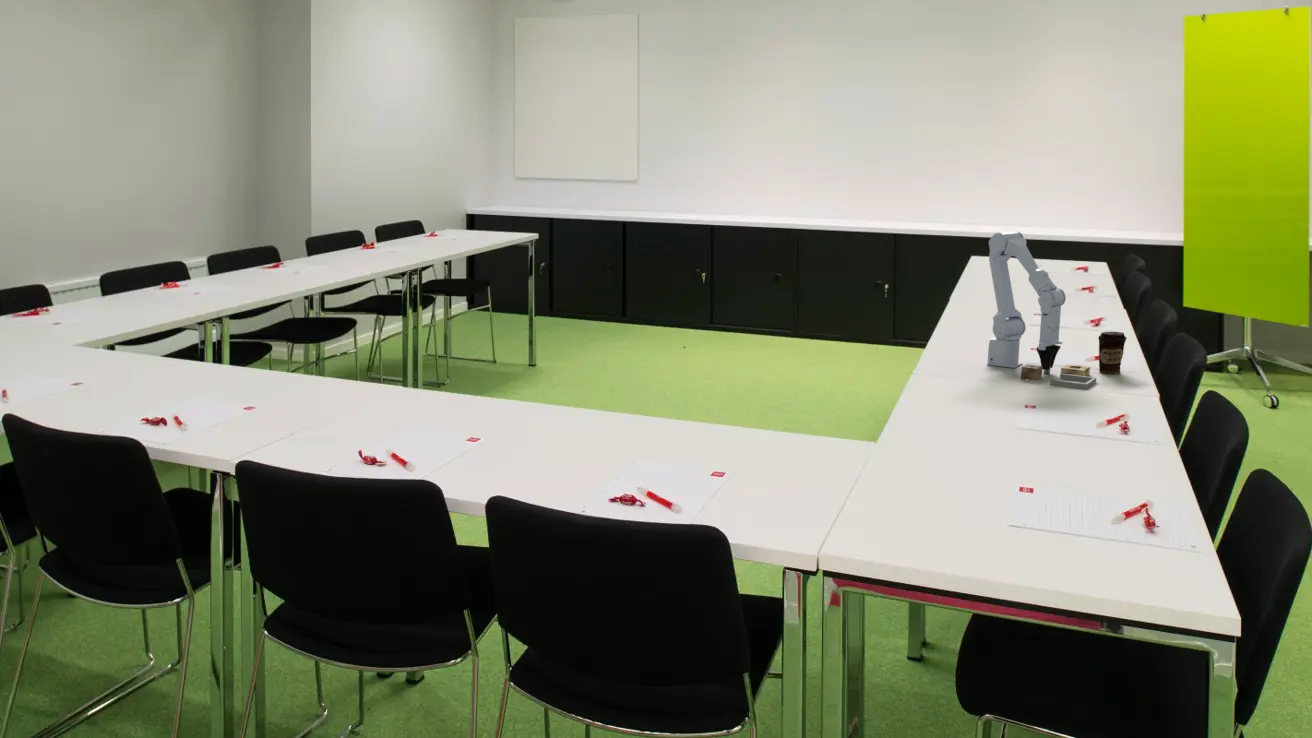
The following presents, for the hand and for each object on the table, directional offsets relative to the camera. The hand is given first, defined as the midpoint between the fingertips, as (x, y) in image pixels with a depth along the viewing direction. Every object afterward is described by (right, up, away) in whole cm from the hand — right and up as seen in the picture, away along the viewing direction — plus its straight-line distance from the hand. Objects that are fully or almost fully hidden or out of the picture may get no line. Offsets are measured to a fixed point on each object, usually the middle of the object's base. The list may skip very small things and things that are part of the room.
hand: (1047, 368), depth 350 cm
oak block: (+8, -2, -2) cm, 9 cm away
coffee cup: (+21, -1, +1) cm, 21 cm away
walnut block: (-7, -3, -5) cm, 9 cm away
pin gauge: (0, -2, 0) cm, 2 cm away
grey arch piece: (+3, -5, -13) cm, 14 cm away
